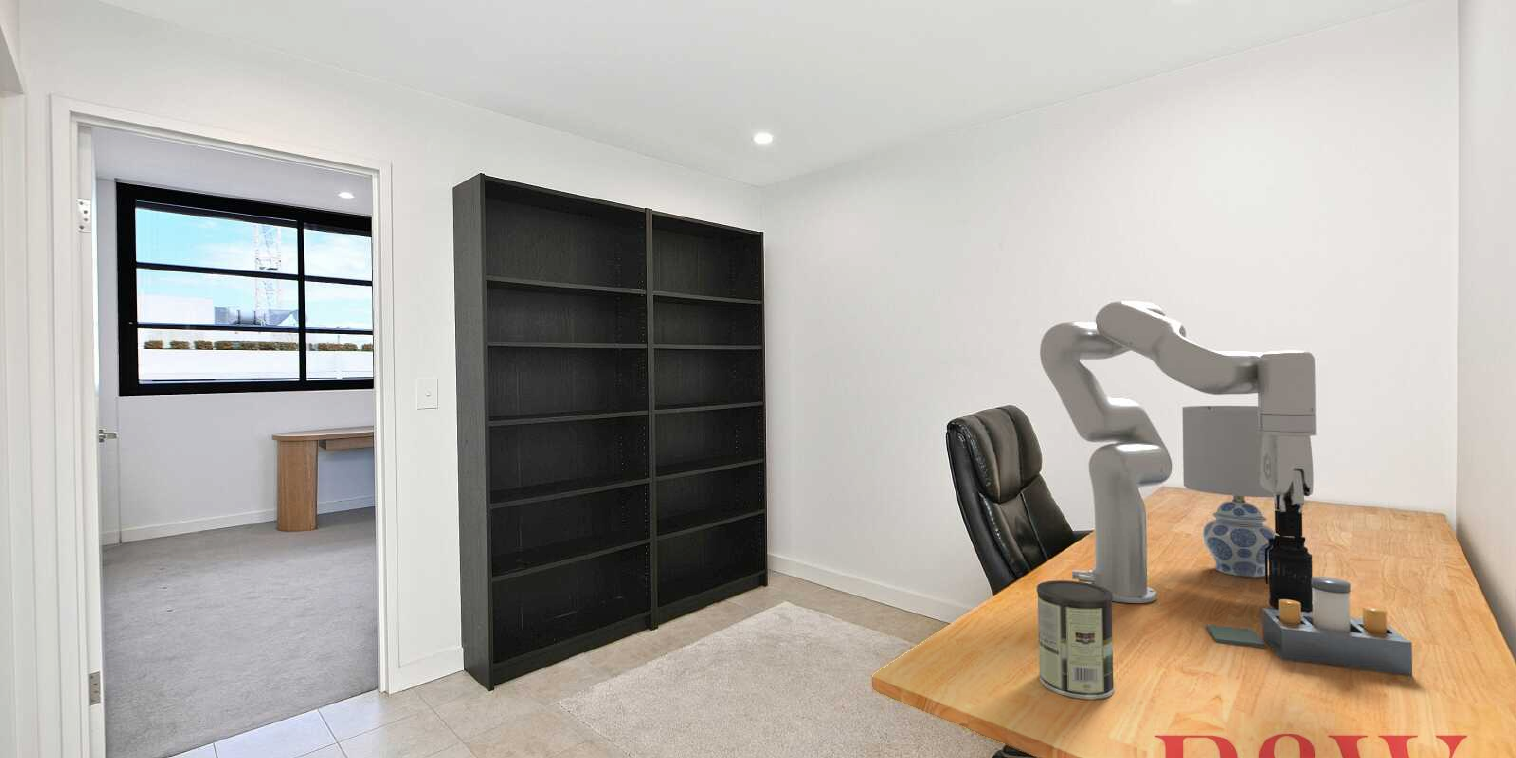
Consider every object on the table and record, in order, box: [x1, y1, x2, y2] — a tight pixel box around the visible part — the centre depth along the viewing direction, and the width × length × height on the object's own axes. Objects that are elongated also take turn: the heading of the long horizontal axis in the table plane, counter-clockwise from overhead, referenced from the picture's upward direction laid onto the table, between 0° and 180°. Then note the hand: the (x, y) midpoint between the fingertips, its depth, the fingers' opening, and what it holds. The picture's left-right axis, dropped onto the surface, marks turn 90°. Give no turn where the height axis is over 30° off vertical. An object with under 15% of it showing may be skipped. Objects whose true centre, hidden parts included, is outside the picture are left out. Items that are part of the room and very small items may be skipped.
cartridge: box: [1312, 576, 1352, 632], centre depth 108 cm, size 5×5×12 cm
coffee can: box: [1036, 579, 1115, 701], centre depth 99 cm, size 10×10×14 cm
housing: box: [1261, 607, 1413, 677], centre depth 108 cm, size 16×10×5 cm, turn 67°
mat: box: [1205, 624, 1266, 649], centre depth 115 cm, size 7×7×1 cm
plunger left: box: [1279, 599, 1301, 624], centre depth 110 cm, size 3×3×5 cm
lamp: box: [1181, 405, 1277, 578], centre depth 153 cm, size 22×22×38 cm
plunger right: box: [1362, 606, 1388, 633], centre depth 105 cm, size 3×3×5 cm
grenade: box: [1264, 534, 1314, 613], centre depth 126 cm, size 7×7×15 cm
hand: (1288, 535), depth 110 cm, fingers closed
